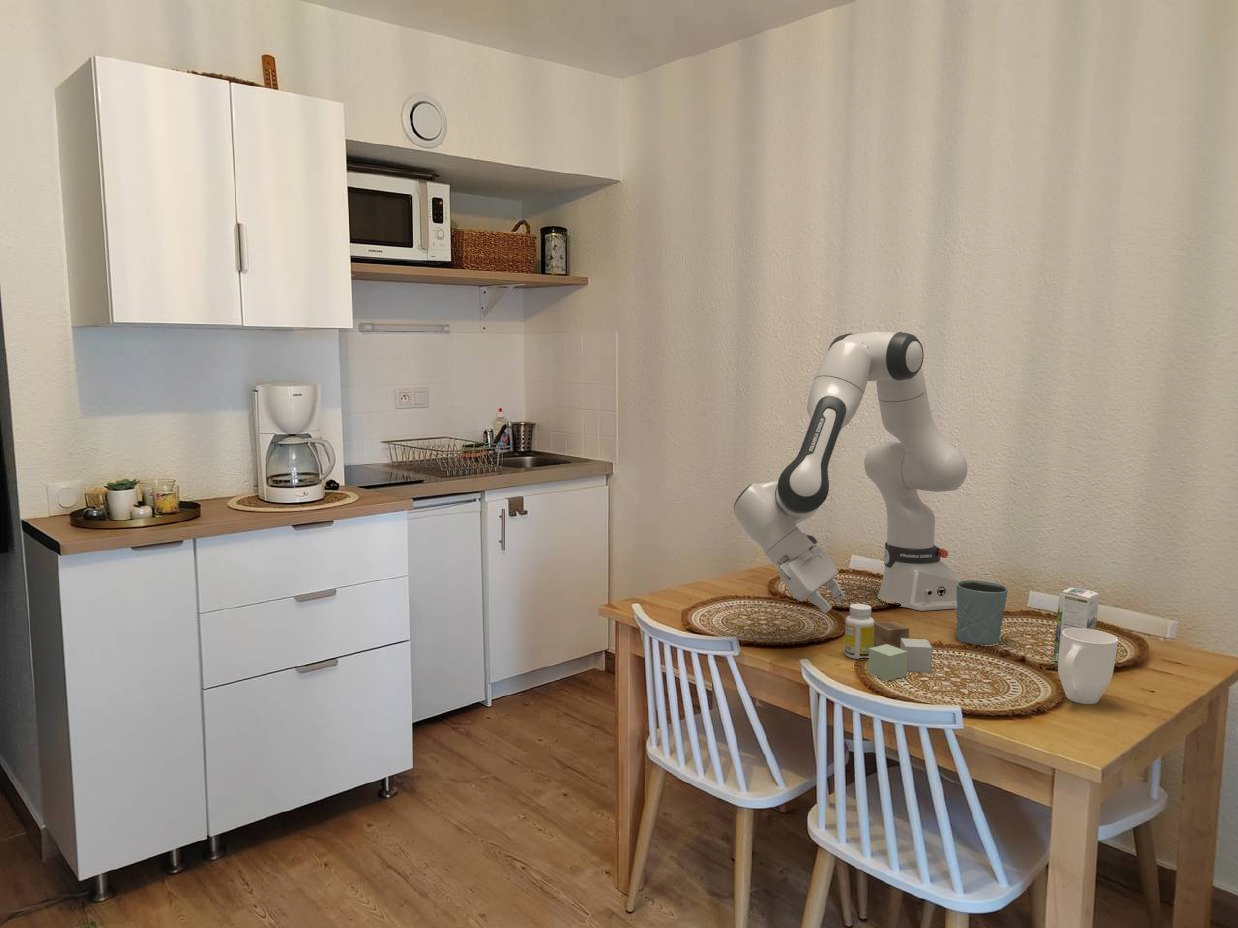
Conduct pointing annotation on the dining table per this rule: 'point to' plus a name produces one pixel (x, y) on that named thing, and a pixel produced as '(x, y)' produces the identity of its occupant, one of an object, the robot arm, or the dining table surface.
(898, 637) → the walnut cube
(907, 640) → the grey painted cube
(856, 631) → the supplement bottle
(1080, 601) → the syrup box
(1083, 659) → the mug
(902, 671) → the sage cube
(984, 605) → the teal plant pot
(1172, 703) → the dining table surface
